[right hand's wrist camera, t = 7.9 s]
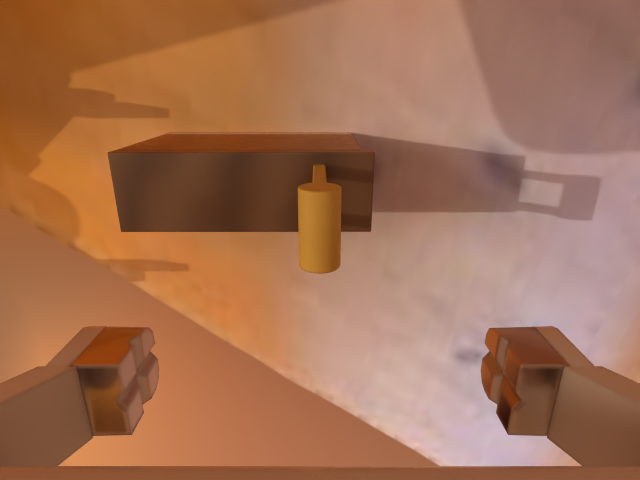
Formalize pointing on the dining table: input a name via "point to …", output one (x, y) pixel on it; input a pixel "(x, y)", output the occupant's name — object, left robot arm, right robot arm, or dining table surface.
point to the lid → (248, 194)
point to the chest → (248, 141)
